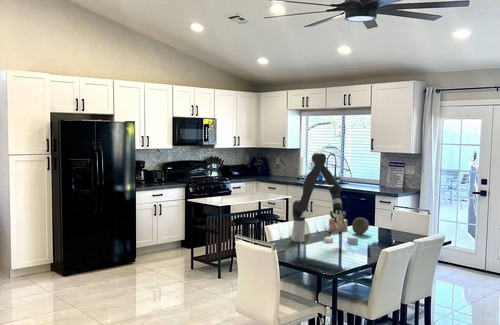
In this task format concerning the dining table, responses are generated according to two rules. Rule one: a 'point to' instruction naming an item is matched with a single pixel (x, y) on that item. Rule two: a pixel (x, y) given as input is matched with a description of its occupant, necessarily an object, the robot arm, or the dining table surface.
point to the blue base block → (352, 240)
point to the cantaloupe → (360, 225)
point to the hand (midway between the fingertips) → (339, 222)
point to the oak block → (338, 221)
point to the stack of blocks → (333, 228)
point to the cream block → (328, 239)
